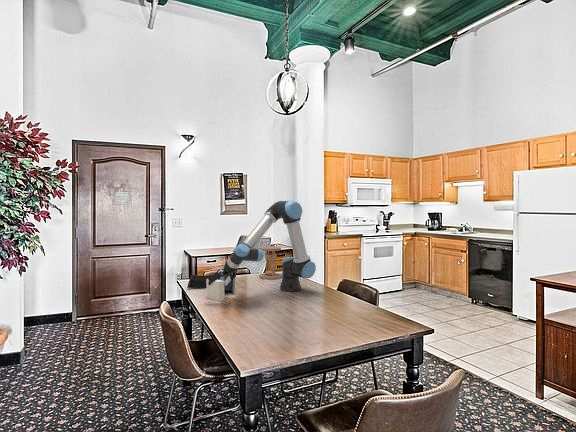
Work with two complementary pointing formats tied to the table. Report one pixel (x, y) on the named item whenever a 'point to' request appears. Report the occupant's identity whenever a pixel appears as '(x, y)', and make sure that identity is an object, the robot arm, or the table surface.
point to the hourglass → (270, 257)
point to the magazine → (198, 281)
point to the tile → (216, 290)
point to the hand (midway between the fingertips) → (216, 285)
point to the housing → (230, 285)
